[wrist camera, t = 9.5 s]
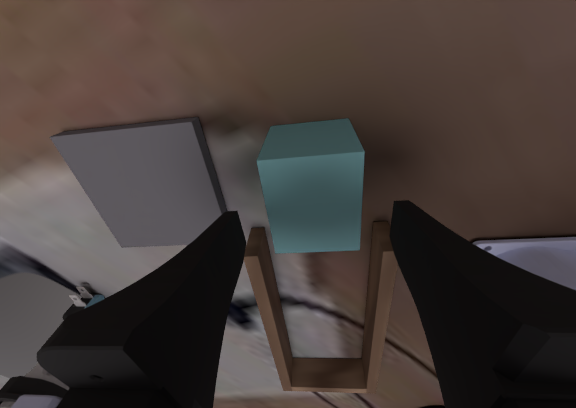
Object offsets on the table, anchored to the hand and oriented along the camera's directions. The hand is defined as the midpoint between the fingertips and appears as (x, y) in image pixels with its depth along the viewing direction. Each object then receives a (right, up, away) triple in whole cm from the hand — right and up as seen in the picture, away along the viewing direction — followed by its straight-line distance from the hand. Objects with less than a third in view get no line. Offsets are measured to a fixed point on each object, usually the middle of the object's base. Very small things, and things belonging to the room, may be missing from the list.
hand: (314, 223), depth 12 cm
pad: (-10, +2, +6) cm, 12 cm away
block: (0, +3, +4) cm, 6 cm away
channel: (+2, -9, +13) cm, 16 cm away
